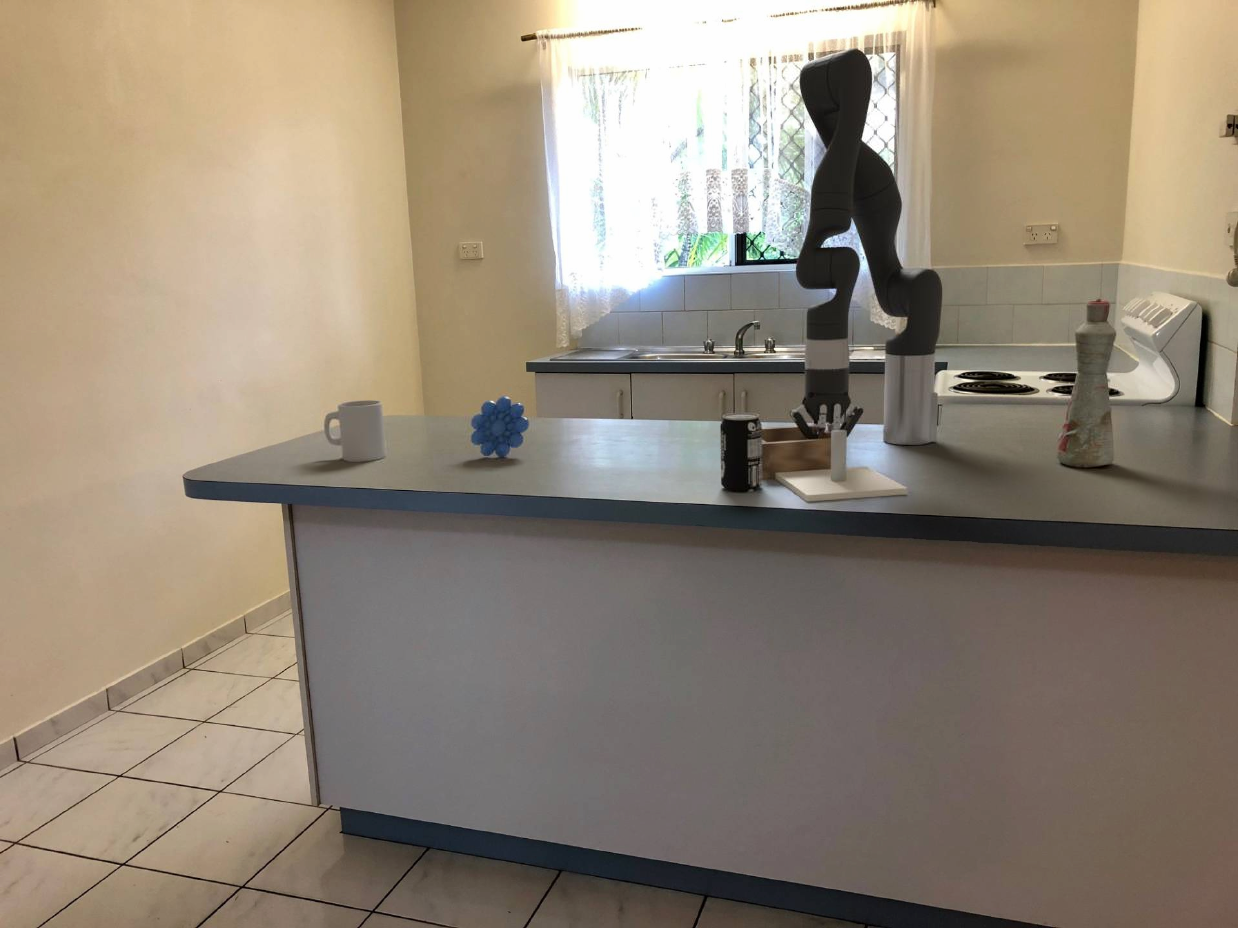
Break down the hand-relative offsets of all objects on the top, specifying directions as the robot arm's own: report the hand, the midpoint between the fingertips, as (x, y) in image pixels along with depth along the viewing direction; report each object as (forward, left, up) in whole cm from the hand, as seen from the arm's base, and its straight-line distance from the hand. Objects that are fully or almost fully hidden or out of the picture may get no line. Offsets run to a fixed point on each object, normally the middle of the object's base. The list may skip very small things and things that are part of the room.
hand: (825, 462), depth 169 cm
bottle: (-41, +12, -1) cm, 43 cm away
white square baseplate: (+4, +15, -1) cm, 16 cm away
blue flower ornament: (+57, -27, -1) cm, 63 cm away
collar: (+7, 0, -1) cm, 7 cm away
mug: (+86, -35, -1) cm, 92 cm away
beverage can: (+19, +12, -1) cm, 23 cm away
